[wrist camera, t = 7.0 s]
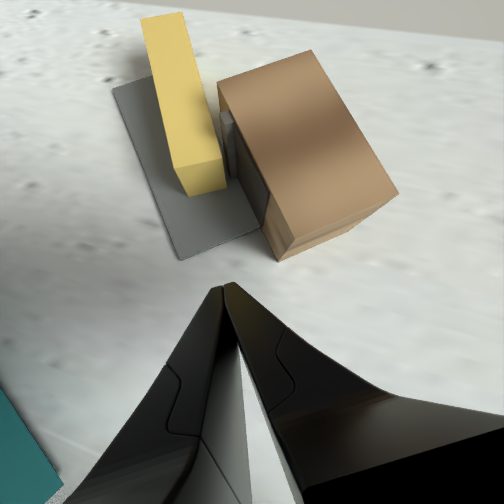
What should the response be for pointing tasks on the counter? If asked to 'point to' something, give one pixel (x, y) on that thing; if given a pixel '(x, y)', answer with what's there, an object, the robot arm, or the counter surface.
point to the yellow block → (183, 105)
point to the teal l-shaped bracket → (22, 462)
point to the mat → (170, 187)
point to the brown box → (298, 154)
